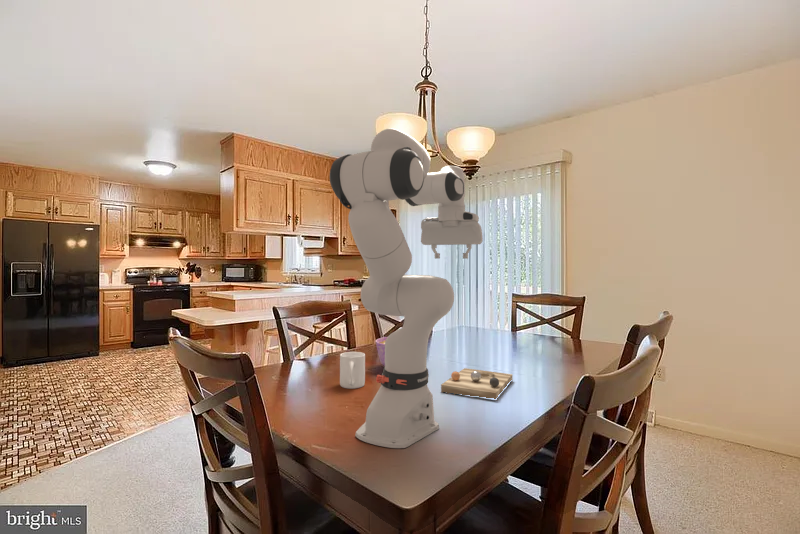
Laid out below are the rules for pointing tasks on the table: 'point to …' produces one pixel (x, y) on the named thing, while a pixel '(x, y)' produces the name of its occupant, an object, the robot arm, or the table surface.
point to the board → (476, 384)
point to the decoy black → (494, 382)
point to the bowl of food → (381, 349)
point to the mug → (352, 370)
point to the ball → (475, 376)
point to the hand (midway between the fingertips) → (451, 258)
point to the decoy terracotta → (455, 375)
